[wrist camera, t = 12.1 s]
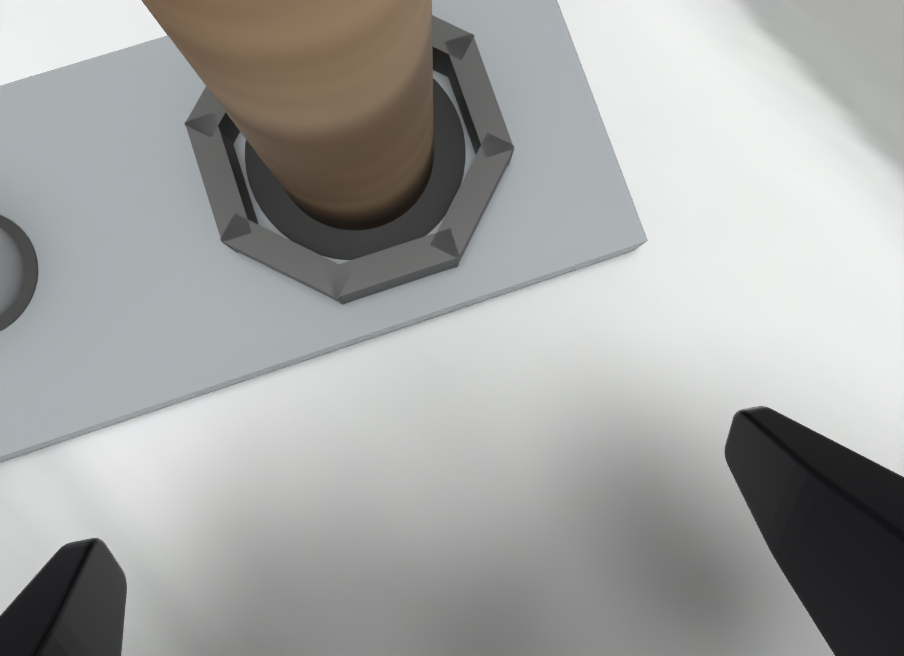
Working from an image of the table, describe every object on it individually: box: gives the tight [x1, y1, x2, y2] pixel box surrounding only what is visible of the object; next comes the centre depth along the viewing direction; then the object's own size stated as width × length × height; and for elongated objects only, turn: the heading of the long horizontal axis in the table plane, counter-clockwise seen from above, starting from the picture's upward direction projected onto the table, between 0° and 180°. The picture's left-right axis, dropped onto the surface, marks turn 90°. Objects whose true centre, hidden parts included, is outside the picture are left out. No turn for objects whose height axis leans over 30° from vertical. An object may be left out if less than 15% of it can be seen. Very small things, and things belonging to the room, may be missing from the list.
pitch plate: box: [0, 0, 648, 462], centre depth 14 cm, size 10×20×9 cm, turn 109°
